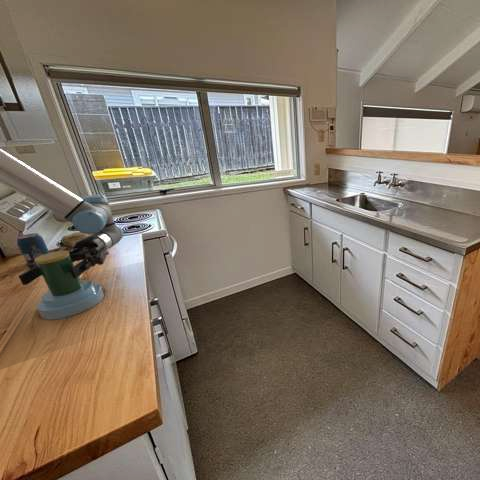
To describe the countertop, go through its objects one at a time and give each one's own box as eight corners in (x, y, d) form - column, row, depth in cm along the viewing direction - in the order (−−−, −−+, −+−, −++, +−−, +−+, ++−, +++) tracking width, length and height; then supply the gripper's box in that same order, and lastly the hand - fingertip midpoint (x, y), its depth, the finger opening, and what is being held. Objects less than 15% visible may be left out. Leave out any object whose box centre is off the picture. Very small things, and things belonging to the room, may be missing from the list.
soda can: (42, 259, 107) (29, 232, 103) (57, 259, 107) (45, 232, 102) (23, 267, 101) (9, 239, 96) (40, 267, 100) (26, 238, 96)
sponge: (107, 249, 119) (97, 232, 130) (97, 236, 114) (89, 219, 125) (71, 263, 111) (65, 243, 123) (60, 249, 106) (54, 230, 118)
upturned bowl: (34, 326, 67) (26, 311, 65) (47, 301, 78) (40, 287, 76) (102, 306, 74) (96, 292, 73) (105, 286, 85) (100, 273, 83)
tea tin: (48, 299, 70) (30, 263, 66) (54, 288, 75) (38, 254, 71) (81, 291, 74) (66, 256, 69) (84, 281, 79) (70, 248, 75)
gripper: (134, 251, 92) (103, 282, 72) (57, 260, 87) (1, 296, 67) (127, 232, 89) (93, 258, 69) (48, 240, 84) (-14, 271, 64)
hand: (48, 277), depth 68 cm, fingers open, 10 cm apart
